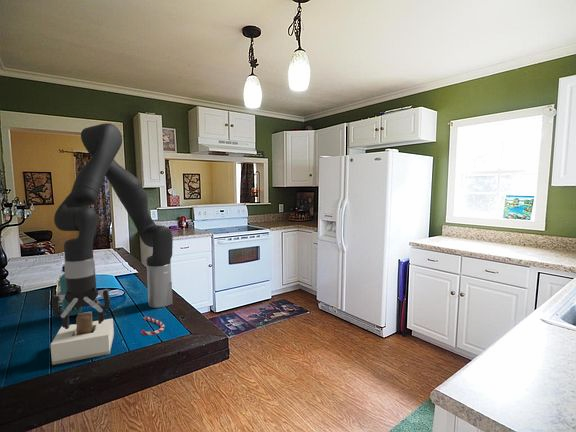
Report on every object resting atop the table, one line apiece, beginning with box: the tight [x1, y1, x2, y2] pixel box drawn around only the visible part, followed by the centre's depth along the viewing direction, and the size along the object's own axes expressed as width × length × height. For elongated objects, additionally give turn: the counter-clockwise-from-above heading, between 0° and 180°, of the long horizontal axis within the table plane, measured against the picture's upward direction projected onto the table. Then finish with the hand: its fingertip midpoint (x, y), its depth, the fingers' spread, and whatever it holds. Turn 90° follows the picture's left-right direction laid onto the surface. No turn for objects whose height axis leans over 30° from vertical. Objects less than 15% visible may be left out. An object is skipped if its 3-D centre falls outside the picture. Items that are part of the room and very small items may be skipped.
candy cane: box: [140, 316, 165, 336], centre depth 110 cm, size 8×1×15 cm
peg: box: [75, 311, 93, 335], centre depth 94 cm, size 4×4×10 cm
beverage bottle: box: [58, 264, 83, 317], centre depth 116 cm, size 6×7×20 cm
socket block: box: [50, 318, 115, 366], centre depth 94 cm, size 14×12×6 cm
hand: (84, 325), depth 94 cm, fingers open, 8 cm apart
